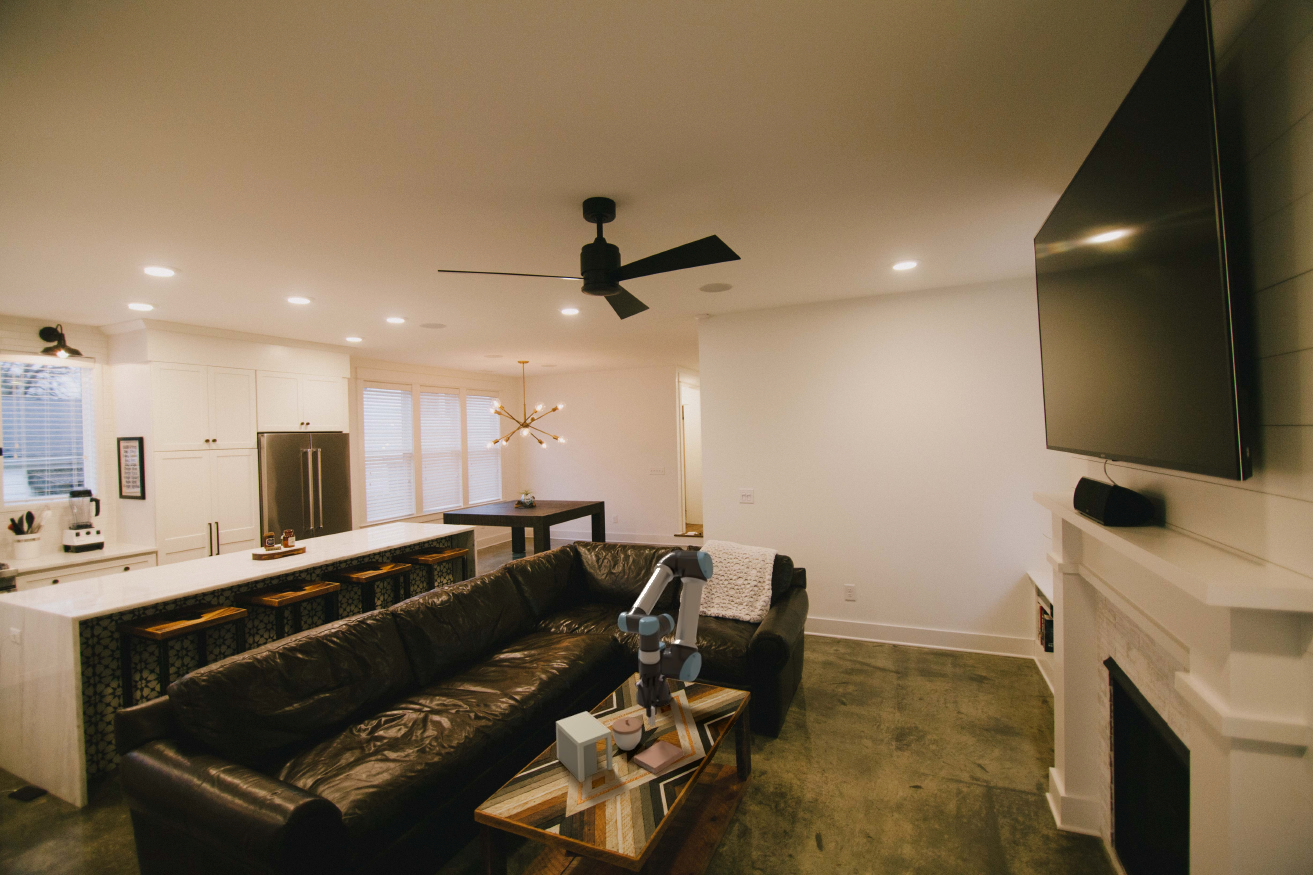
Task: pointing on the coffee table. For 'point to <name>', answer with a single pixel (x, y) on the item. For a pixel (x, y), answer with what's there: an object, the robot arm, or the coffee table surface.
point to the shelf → (582, 744)
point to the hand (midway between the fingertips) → (651, 724)
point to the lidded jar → (627, 732)
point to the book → (658, 756)
